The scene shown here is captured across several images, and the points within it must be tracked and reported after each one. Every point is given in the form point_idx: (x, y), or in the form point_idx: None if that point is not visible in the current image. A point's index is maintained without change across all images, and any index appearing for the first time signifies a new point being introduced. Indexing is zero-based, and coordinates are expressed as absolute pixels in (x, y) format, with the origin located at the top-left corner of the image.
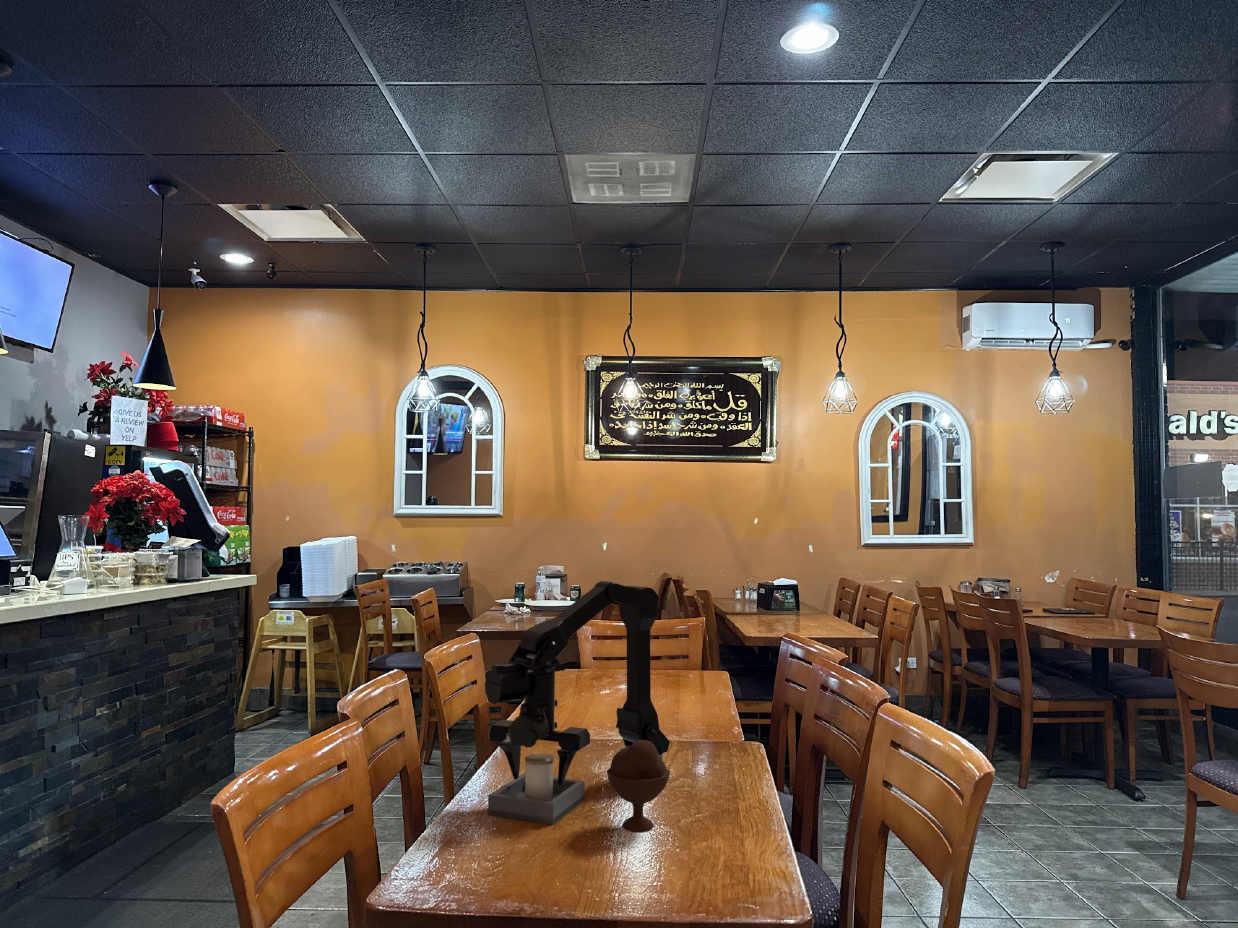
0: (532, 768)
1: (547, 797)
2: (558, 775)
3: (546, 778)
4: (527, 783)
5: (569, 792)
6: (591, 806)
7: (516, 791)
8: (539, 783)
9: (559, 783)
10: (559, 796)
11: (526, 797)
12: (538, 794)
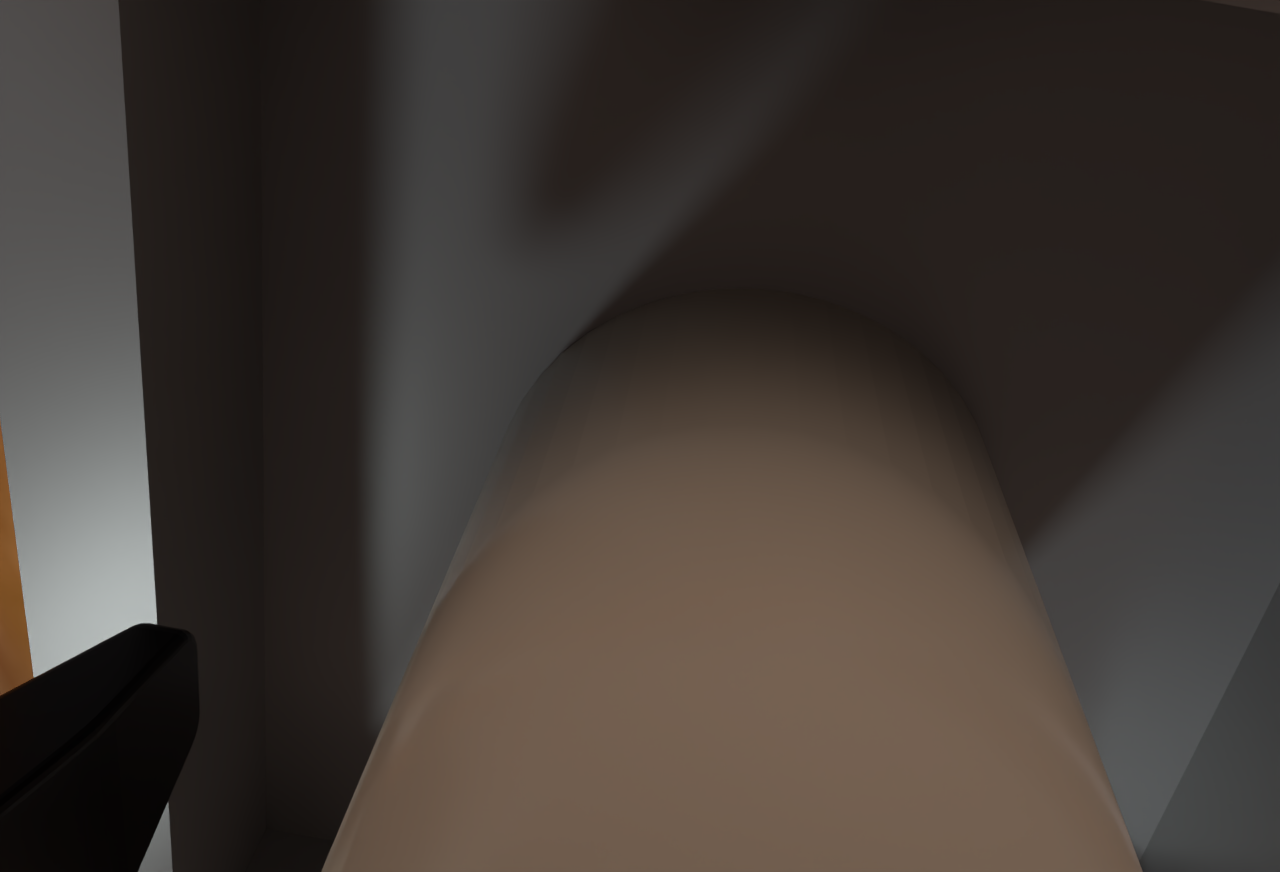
0: (864, 847)
1: (508, 451)
2: (35, 755)
3: (424, 678)
4: (985, 572)
5: (17, 530)
6: (3, 624)
7: (1225, 774)
8: (615, 526)
9: (147, 641)
10: (75, 243)
11: (954, 419)
12: (658, 385)
